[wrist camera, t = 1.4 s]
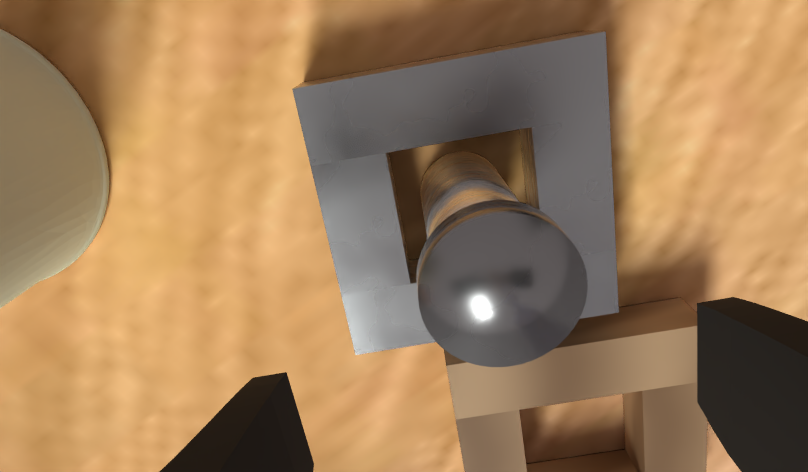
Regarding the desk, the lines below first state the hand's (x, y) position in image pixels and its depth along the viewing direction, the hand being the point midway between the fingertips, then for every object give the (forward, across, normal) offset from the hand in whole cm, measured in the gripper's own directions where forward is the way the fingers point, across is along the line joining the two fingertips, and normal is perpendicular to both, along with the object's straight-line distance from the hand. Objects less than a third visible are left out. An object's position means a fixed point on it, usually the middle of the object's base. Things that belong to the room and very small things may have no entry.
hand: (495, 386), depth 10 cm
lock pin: (+10, -1, 0) cm, 10 cm away
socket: (+10, -4, +10) cm, 15 cm away
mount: (+10, -1, 0) cm, 10 cm away
